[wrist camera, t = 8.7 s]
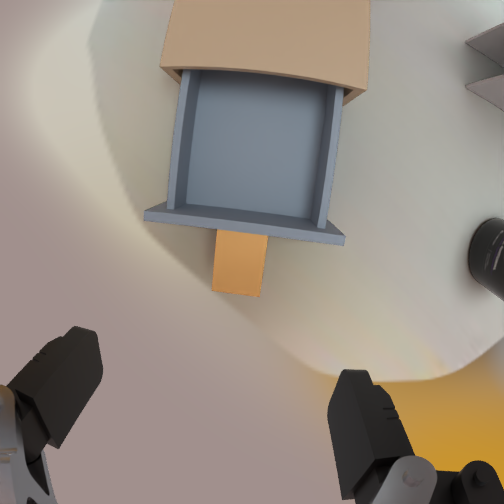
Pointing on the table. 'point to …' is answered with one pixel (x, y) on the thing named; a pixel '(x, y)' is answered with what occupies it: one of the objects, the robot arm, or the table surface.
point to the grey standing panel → (499, 50)
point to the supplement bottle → (489, 256)
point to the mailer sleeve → (273, 39)
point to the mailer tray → (252, 166)
